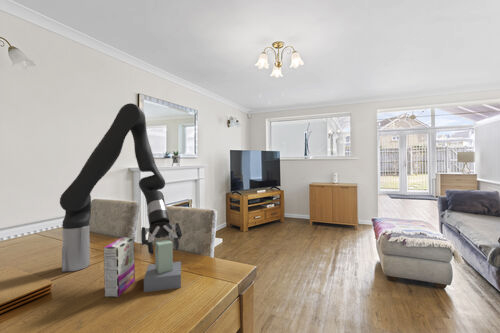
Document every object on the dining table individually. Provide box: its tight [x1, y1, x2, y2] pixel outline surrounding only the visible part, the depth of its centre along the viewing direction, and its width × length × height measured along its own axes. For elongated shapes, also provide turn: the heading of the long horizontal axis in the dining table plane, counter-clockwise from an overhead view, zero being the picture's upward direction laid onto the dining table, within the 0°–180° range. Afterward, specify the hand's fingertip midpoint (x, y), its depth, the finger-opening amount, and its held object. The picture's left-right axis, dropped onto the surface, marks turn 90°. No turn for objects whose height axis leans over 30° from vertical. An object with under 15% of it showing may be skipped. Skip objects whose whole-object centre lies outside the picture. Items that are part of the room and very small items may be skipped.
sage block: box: [154, 238, 174, 273], centre depth 89 cm, size 5×5×10 cm
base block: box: [143, 261, 182, 293], centre depth 89 cm, size 12×12×5 cm
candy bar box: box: [103, 236, 136, 298], centre depth 84 cm, size 11×5×16 cm, turn 179°
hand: (164, 251), depth 88 cm, fingers open, 8 cm apart
